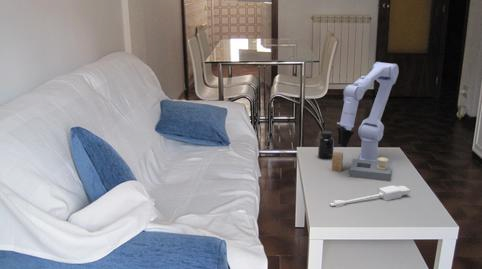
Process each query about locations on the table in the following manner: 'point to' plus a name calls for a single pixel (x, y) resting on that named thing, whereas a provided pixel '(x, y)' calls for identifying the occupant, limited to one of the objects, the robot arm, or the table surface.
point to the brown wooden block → (337, 161)
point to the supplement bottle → (326, 145)
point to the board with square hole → (371, 169)
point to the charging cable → (379, 194)
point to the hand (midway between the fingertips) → (342, 145)
